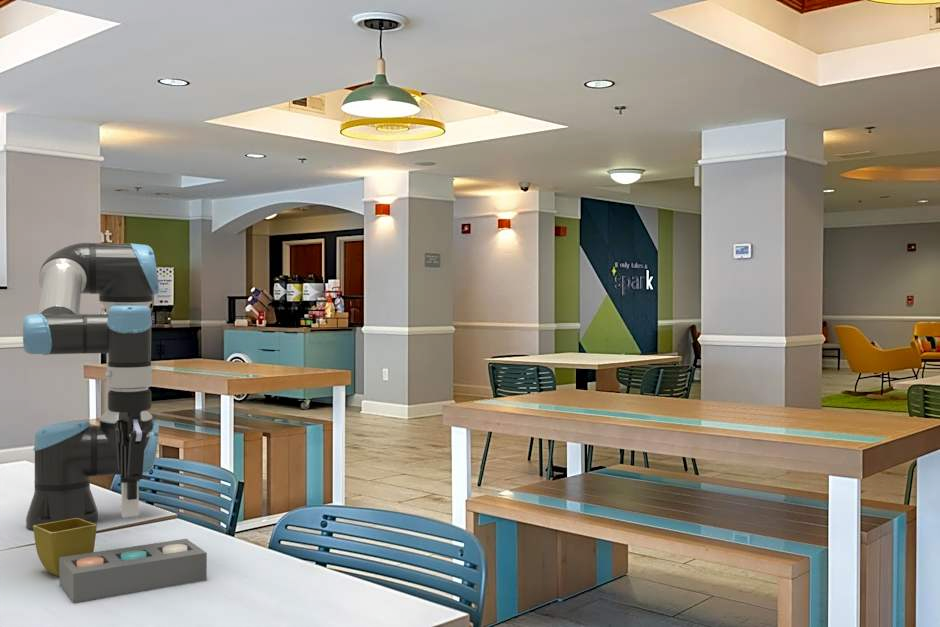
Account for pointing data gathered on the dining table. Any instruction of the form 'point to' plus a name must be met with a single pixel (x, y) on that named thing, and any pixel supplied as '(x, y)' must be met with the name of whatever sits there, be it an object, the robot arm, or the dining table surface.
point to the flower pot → (63, 541)
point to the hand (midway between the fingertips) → (130, 515)
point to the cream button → (174, 548)
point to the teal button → (133, 555)
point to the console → (131, 571)
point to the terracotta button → (89, 561)
